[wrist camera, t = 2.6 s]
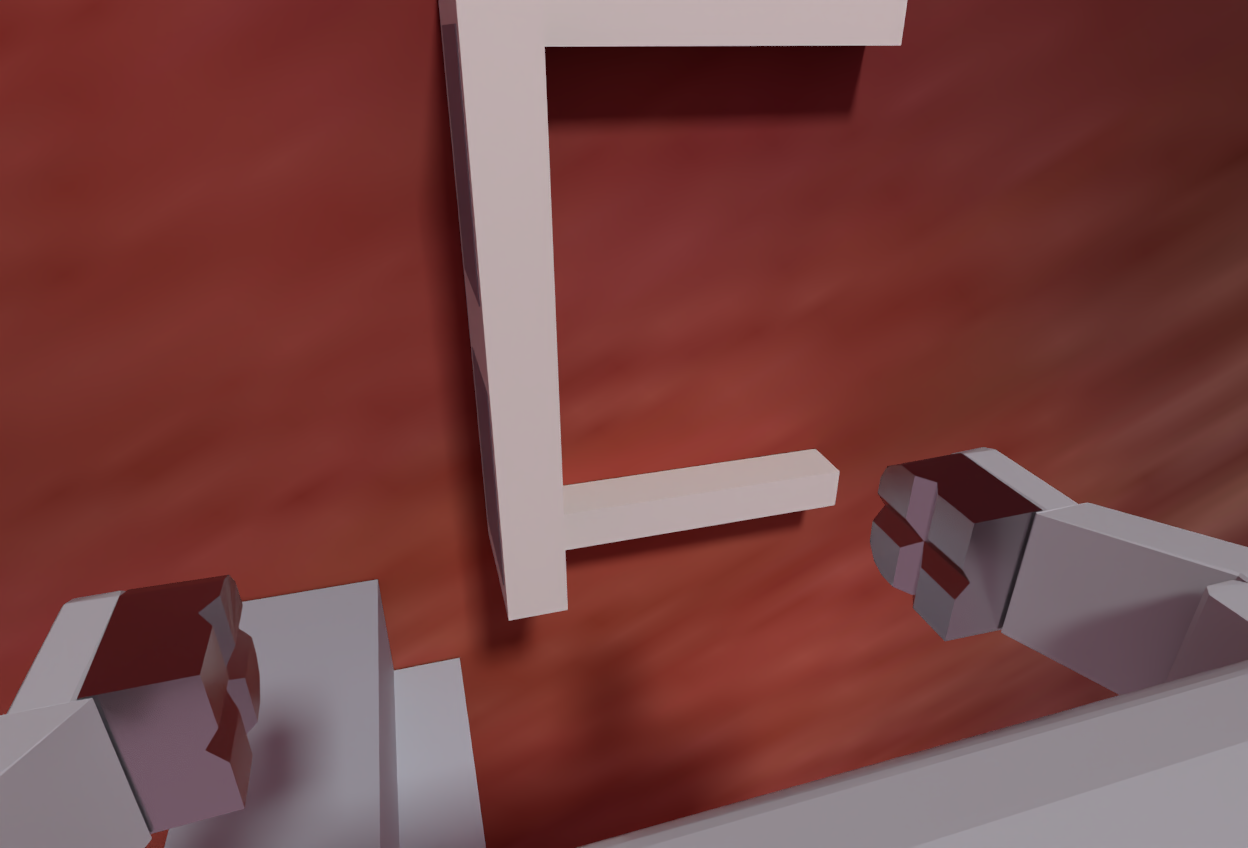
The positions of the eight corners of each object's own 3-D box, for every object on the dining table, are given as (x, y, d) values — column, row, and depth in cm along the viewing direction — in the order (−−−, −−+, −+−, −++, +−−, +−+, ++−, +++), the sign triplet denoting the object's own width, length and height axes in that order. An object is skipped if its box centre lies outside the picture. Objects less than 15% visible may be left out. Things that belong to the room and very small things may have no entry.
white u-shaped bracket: (873, -10, 19) (983, -20, 16) (811, 481, 25) (880, 551, 22) (435, -17, 16) (452, -31, 13) (487, 532, 23) (507, 620, 19)
